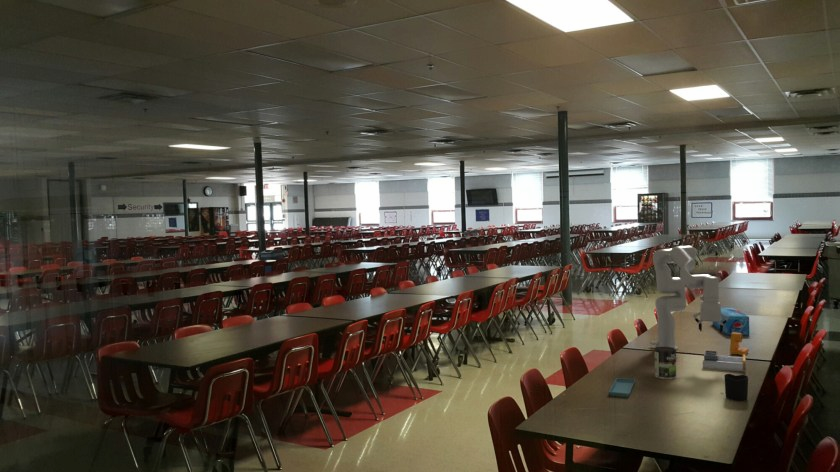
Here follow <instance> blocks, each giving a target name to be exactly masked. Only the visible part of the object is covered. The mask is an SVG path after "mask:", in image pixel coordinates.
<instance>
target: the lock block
mask: <svg viewBox="0 0 840 472" xmlns="http://www.w3.org/2000/svg"><path fill="white" fill-rule="evenodd" d="M717 355H718V351H717V350H716V351H715V350H705V351H704V354H703V360H704V359H705V360H709V361H718V358H717Z"/></svg>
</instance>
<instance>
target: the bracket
mask: <svg viewBox="0 0 840 472" xmlns="http://www.w3.org/2000/svg"><path fill="white" fill-rule="evenodd" d="M742 342H743V335H742V333H735V332H732V334H731V335H730V344H729V354H731V355H737V354H738V355H739V356H743V354H744V355H745V356H746V355H748V354H749V347H742V346H741V347H740V343H742ZM738 355H737V356H738Z"/></svg>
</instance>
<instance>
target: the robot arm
mask: <svg viewBox="0 0 840 472" xmlns="http://www.w3.org/2000/svg"><path fill="white" fill-rule="evenodd" d="M697 255H698V253H697V249H695V247H694V246H692V245H677V246H674V247H672V248H662V249H657V250H655V251H654V252H653V255H652V263H653V266H654V269H655V280H656V289H657V292H658V293H659V294H663V296H659V297H658V298H656V300H655V308H656V317H657V340H650V342H649V344H650V345H654V348H656V347H671V348H675V349H676V351H677V350H678V349H679V347H678V346H677V345H676V341H675V340H676V334H675V333H676V332H675V331H676V327H675V326H676V324H675V323H676V322H675V317H674V316H673V314H672V313H675V312H682V311H684V310H685V309H686V307H687V299H686V298H687V297H686V296H687V294H686V287H687V288H689V289H691V290H696V289H702V296H701V297H699V300H700V301H701V300H702V301H701V302H700V311H699V312H696V313H695V314H693V315H692V316H693V319H694V320H695V321H696V322H697V324H698V330H699V332H702V331H703V329H702V328H703V326H702V325H703V324H702V322H711V323H713V322H719V323H720V329H719V333H721V334H722V333H723V332H722V331H723V325H724V324H725V323H726V322H727V320H728V319H729V317H728V316H726V315H724V314H722V313H721V307H722V306H721V303H720V302H719V301H720V299H719V294H720V293H719V289H720V287H719V286H720V285H719V284H720V283H719V282H720V281H719V277H717V276H712V275H711V274H708V273H706V274H705V273H702V274H691V273H690V272H691V271H693V270H694V269H695V267H696V261H695V259H697V258H696V257H697ZM668 264H676V265H677V266H678V267H679V268H680V269H679V276H680V277H678V276H677V277H676V276H675V277H673V276H672V270H671V268H670V267H669V265H668ZM665 294H667V295H665ZM669 294H673V295H669ZM698 316H699V318H698ZM721 316H722V317H724V318H725V320H724V321H723V322H722V321H721Z"/></svg>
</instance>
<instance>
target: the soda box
mask: <svg viewBox="0 0 840 472" xmlns="http://www.w3.org/2000/svg"><path fill="white" fill-rule="evenodd" d="M721 313H722V314H724V315H726V316H728V317H729V319H728V320H727V322H726V323H725V324H724V325H723V331H722V332H721V333H724V334H725V335H727V336H731V334H732V332H735V333H742V336H750V316H748V315H747V314H745V313H744V312H741V311H739V310H737V309H736V308H734V307H730V306H729V307H723V306H721ZM724 320H725V318H724V317H722V316H721V321H722V322H723V321H724ZM712 325H713V326H714V325H715V326H716V327H715V326H714V327H715V328H717V329H718V330H720V323H719V322H712Z"/></svg>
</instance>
